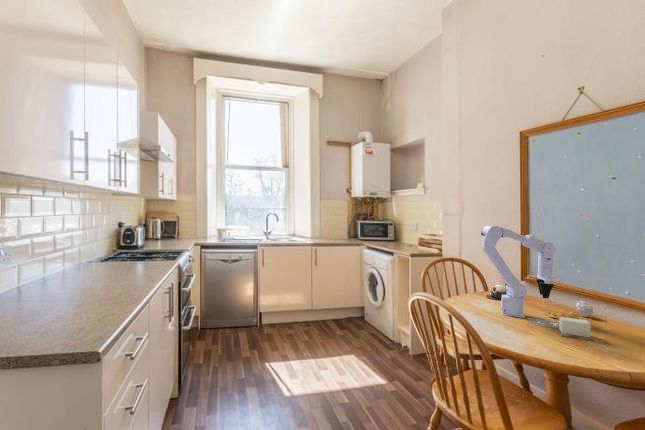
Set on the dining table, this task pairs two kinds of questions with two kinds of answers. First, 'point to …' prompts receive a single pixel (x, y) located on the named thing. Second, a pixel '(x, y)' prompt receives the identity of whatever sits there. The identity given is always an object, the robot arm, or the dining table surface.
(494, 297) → the skull
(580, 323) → the sage block
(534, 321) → the grey tile
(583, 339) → the walnut pad
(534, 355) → the dining table surface
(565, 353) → the dining table surface
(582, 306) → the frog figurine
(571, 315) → the figurine
